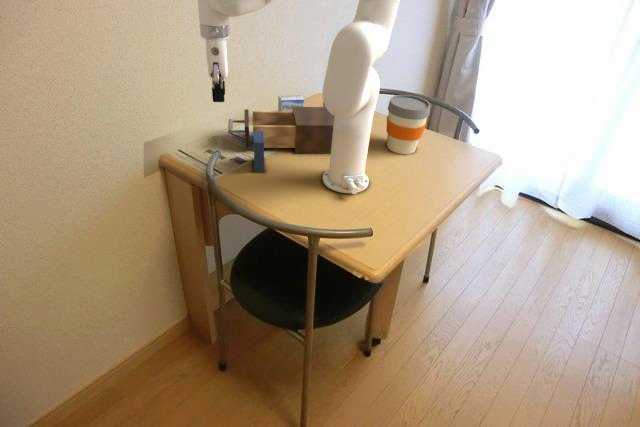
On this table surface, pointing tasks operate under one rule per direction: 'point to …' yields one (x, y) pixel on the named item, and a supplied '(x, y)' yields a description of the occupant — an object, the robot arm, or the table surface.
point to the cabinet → (313, 130)
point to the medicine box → (289, 102)
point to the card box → (258, 151)
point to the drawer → (269, 128)
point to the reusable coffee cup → (406, 122)
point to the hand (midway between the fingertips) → (219, 97)
